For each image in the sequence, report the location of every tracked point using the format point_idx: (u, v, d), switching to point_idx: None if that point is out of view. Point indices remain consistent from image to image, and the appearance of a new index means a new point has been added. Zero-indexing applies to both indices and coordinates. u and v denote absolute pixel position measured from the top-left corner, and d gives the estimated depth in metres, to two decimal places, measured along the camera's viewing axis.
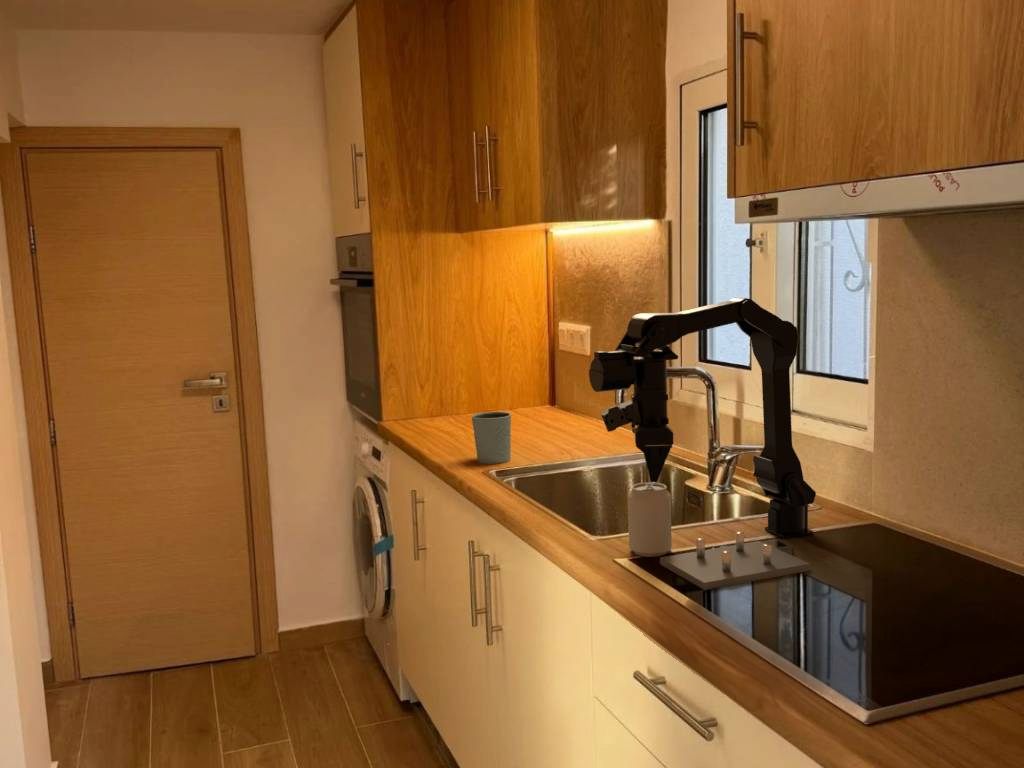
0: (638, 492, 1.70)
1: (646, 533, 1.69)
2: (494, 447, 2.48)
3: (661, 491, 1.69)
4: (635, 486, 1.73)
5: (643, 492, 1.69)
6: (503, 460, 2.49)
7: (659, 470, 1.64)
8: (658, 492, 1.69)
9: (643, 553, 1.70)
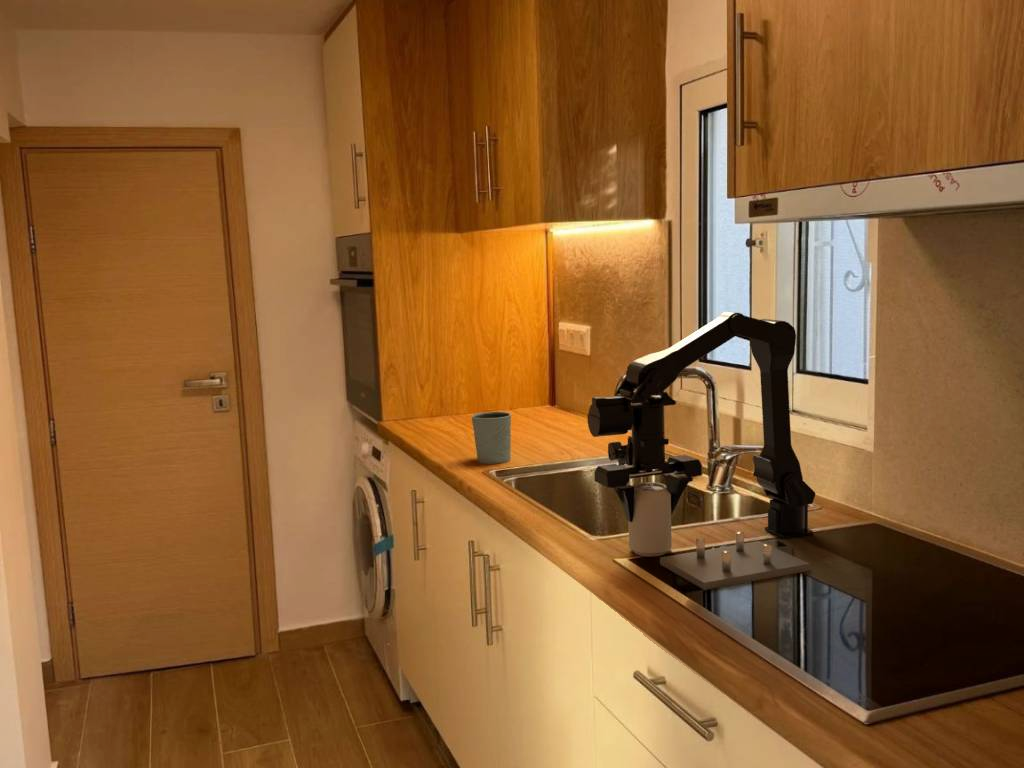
0: (638, 492, 1.70)
1: (646, 533, 1.69)
2: (494, 447, 2.48)
3: (661, 491, 1.69)
4: (635, 486, 1.73)
5: (643, 492, 1.69)
6: (503, 460, 2.49)
7: (628, 511, 1.70)
8: (658, 491, 1.69)
9: (643, 553, 1.70)
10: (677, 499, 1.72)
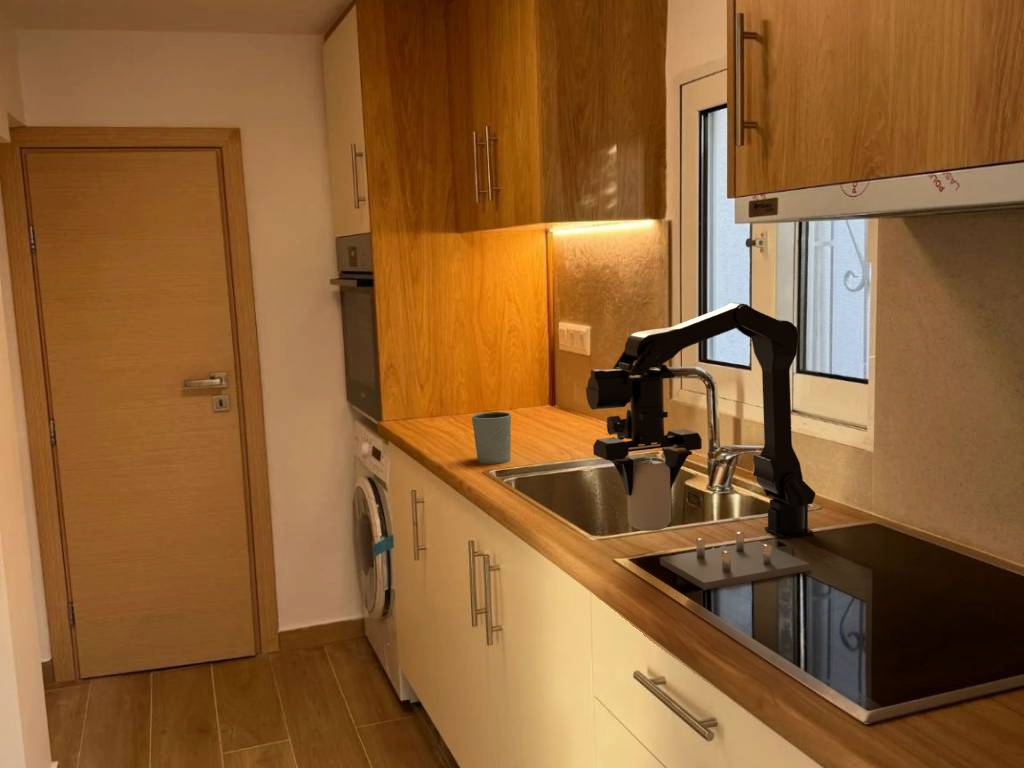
0: (637, 466, 1.69)
1: (645, 507, 1.69)
2: (494, 447, 2.48)
3: (660, 465, 1.69)
4: (634, 460, 1.73)
5: (642, 466, 1.68)
6: (503, 460, 2.49)
7: (627, 484, 1.69)
8: (657, 465, 1.68)
9: (642, 527, 1.70)
10: (676, 473, 1.71)
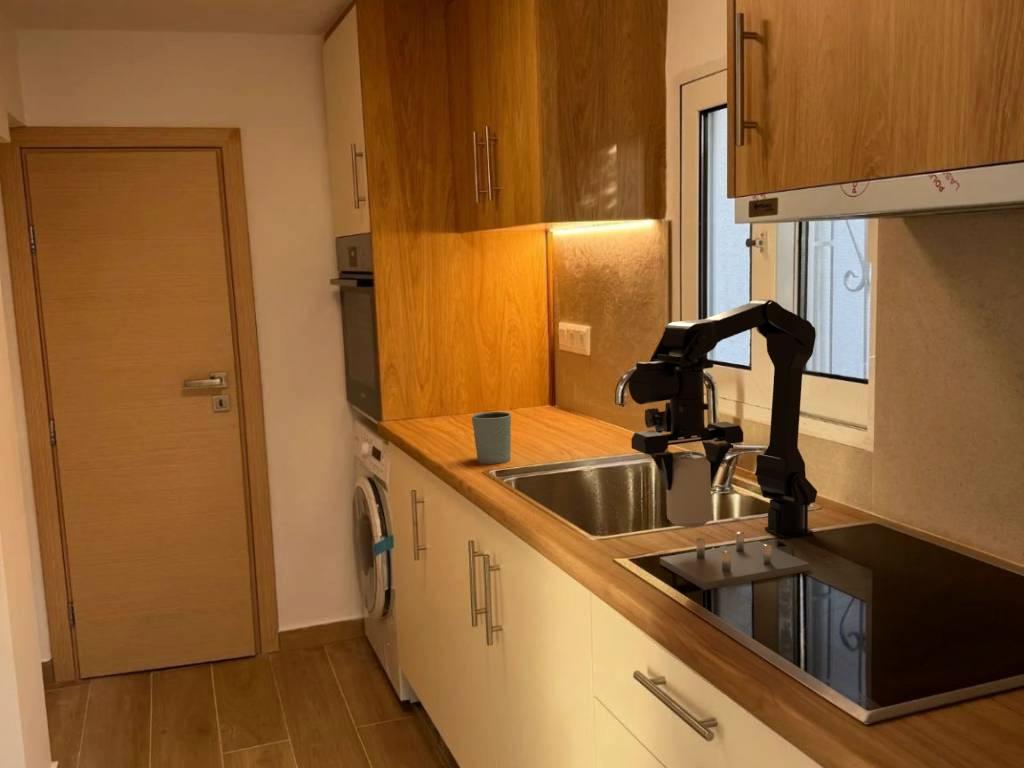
0: (677, 461, 1.64)
1: (685, 503, 1.64)
2: (494, 447, 2.48)
3: (701, 459, 1.64)
4: (673, 455, 1.68)
5: (682, 460, 1.63)
6: (503, 460, 2.49)
7: (666, 479, 1.64)
8: (697, 460, 1.63)
9: (682, 523, 1.65)
10: (717, 467, 1.66)
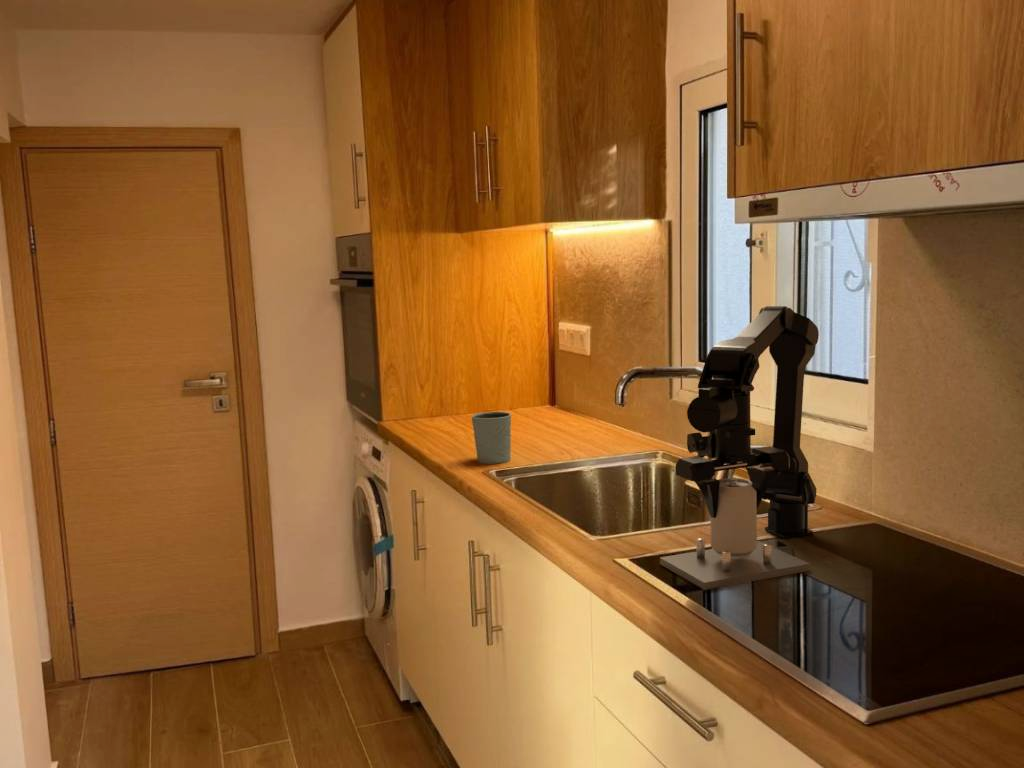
0: (723, 489, 1.59)
1: (732, 532, 1.59)
2: (494, 447, 2.48)
3: (747, 487, 1.59)
4: None
5: (728, 488, 1.59)
6: (503, 460, 2.49)
7: (711, 506, 1.59)
8: (744, 488, 1.59)
9: None
10: (762, 494, 1.62)
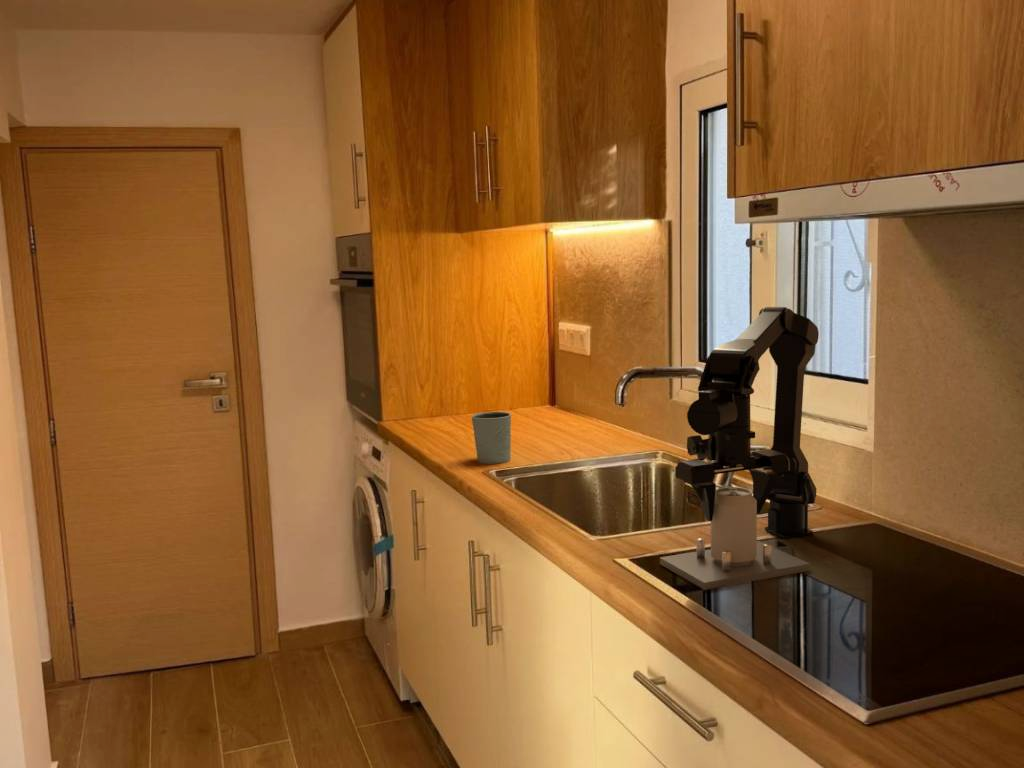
0: (724, 498, 1.59)
1: (732, 541, 1.59)
2: (494, 447, 2.48)
3: (748, 496, 1.59)
4: (718, 491, 1.63)
5: (729, 497, 1.59)
6: (503, 460, 2.49)
7: (707, 509, 1.59)
8: (745, 497, 1.59)
9: None
10: (766, 496, 1.62)
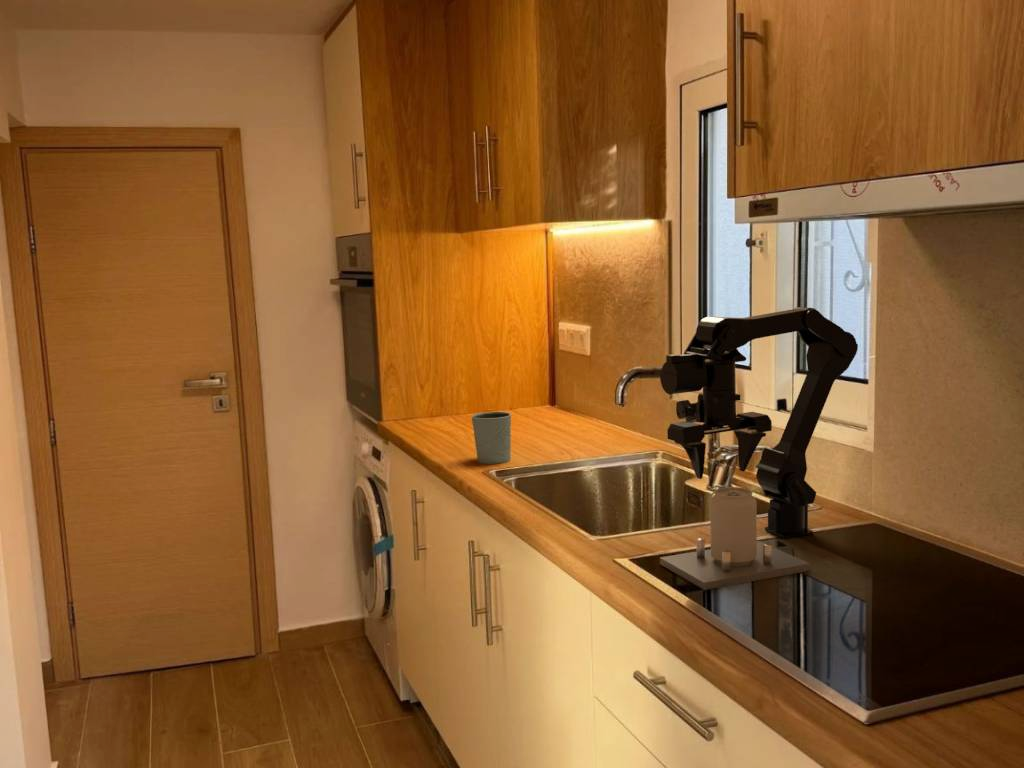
0: (723, 498, 1.59)
1: (732, 541, 1.59)
2: (494, 447, 2.48)
3: (747, 496, 1.59)
4: (717, 491, 1.63)
5: (729, 497, 1.59)
6: (503, 460, 2.49)
7: (698, 468, 1.71)
8: (744, 497, 1.59)
9: None
10: (750, 454, 1.74)
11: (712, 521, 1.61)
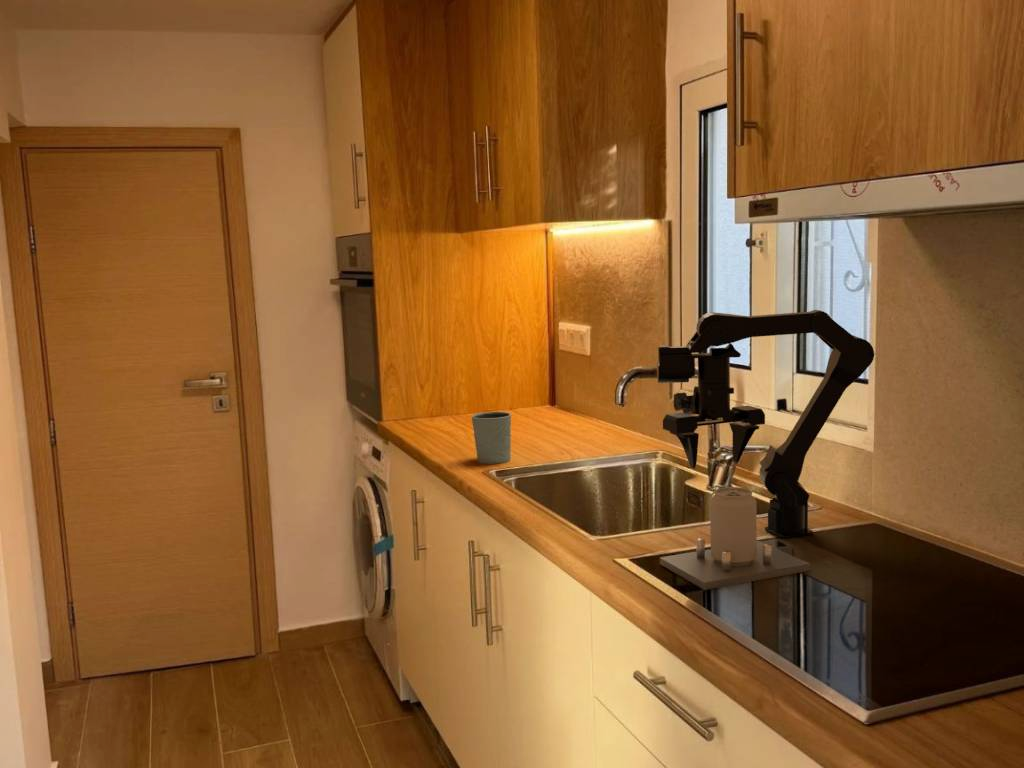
0: (723, 498, 1.59)
1: (732, 541, 1.59)
2: (494, 447, 2.48)
3: (747, 496, 1.59)
4: (717, 491, 1.63)
5: (729, 497, 1.59)
6: (503, 460, 2.49)
7: (691, 457, 1.78)
8: (744, 497, 1.59)
9: None
10: (744, 446, 1.81)
11: (712, 521, 1.61)
